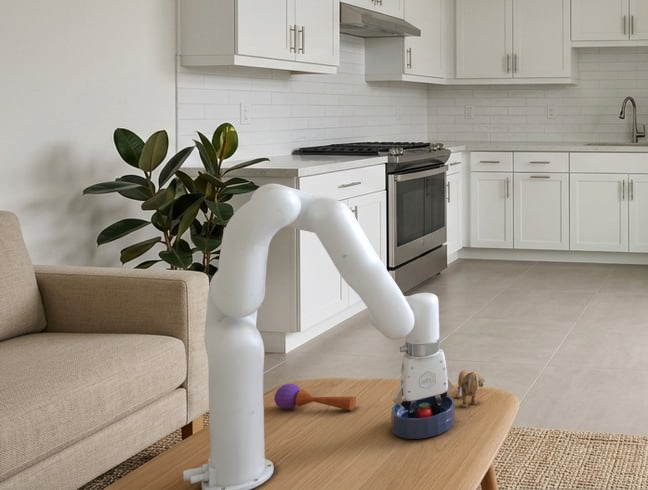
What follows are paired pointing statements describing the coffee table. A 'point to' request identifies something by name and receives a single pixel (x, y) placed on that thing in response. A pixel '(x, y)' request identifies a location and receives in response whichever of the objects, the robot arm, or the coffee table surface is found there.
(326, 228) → the robot arm
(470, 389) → the tan animal figure
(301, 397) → the maraca
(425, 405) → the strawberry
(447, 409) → the bowl
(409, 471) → the coffee table surface
